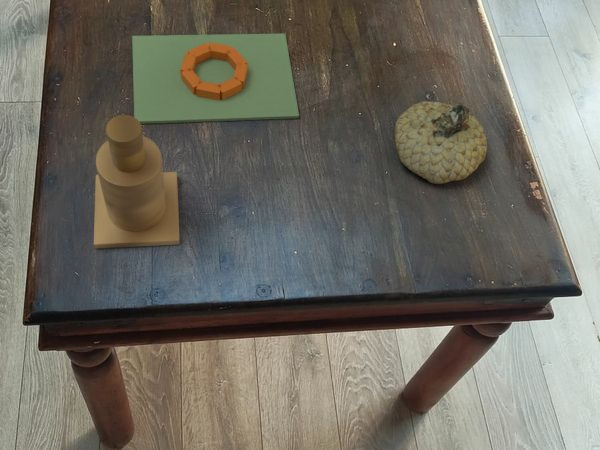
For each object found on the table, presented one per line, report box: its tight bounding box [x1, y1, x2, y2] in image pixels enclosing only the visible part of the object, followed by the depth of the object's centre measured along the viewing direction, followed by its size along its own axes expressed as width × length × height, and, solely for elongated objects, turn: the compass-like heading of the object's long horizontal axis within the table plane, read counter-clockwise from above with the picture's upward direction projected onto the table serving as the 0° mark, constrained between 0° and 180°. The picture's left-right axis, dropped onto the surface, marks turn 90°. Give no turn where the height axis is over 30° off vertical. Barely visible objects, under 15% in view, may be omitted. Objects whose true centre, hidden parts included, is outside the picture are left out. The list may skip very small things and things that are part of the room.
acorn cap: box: [394, 100, 488, 185], centre depth 86 cm, size 10×11×10 cm
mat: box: [131, 33, 300, 125], centre depth 89 cm, size 20×14×1 cm
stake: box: [93, 114, 181, 249], centre depth 72 cm, size 9×9×15 cm
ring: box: [181, 42, 248, 100], centre depth 88 cm, size 8×8×1 cm
